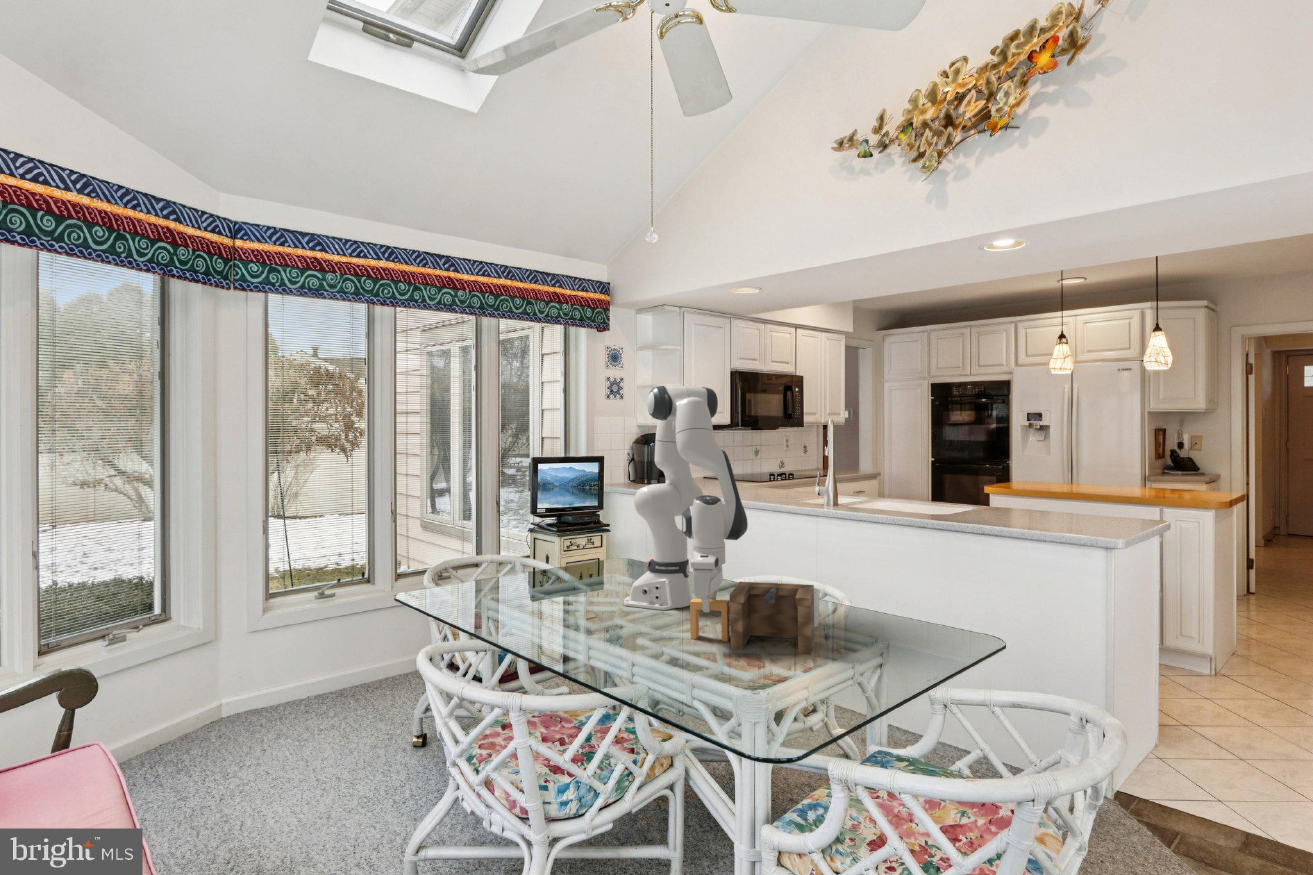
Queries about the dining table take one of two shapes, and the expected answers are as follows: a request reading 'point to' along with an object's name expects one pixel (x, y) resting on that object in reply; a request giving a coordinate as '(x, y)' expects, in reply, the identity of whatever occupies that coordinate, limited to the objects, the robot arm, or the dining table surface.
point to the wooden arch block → (715, 605)
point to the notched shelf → (772, 613)
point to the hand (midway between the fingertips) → (709, 607)
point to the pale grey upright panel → (816, 606)
